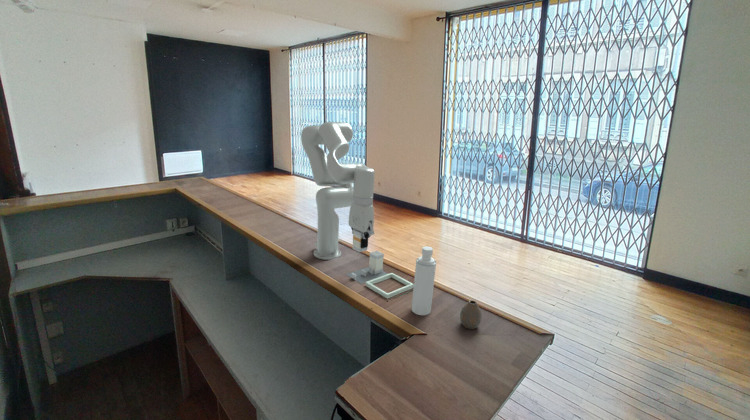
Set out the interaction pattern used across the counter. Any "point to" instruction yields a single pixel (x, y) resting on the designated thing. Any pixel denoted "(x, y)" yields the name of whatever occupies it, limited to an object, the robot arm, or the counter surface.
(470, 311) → the vase
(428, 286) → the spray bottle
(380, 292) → the tray
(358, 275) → the block
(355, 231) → the block
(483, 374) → the counter surface
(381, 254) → the block
